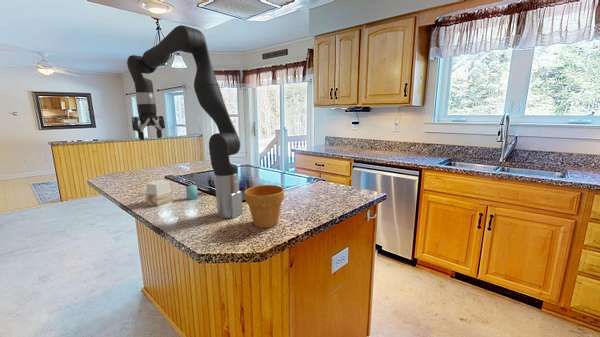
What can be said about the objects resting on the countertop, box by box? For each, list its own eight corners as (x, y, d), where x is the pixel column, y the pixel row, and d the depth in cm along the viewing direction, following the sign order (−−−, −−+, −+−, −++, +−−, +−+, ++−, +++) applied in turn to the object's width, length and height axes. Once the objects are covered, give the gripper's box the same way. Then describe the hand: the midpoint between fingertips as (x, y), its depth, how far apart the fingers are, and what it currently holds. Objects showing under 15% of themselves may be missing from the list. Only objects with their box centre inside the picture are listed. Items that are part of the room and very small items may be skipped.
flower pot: (238, 226, 103) (236, 192, 100) (262, 213, 115) (261, 183, 112) (269, 234, 96) (268, 198, 93) (292, 220, 108) (291, 187, 105)
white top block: (170, 191, 132) (169, 181, 131) (157, 195, 126) (155, 185, 125) (161, 189, 135) (159, 179, 134) (147, 193, 129) (146, 183, 128)
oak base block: (173, 201, 133) (172, 191, 132) (158, 206, 126) (156, 196, 125) (162, 199, 137) (161, 189, 136) (147, 204, 130) (145, 194, 129)
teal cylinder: (200, 197, 138) (199, 185, 137) (192, 200, 134) (190, 188, 132) (193, 196, 140) (192, 184, 139) (184, 199, 136) (183, 187, 135)
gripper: (135, 102, 119) (141, 141, 122) (165, 103, 131) (169, 137, 135) (125, 103, 123) (131, 140, 126) (155, 103, 135) (159, 137, 138)
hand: (151, 139), depth 130 cm, fingers open, 8 cm apart
